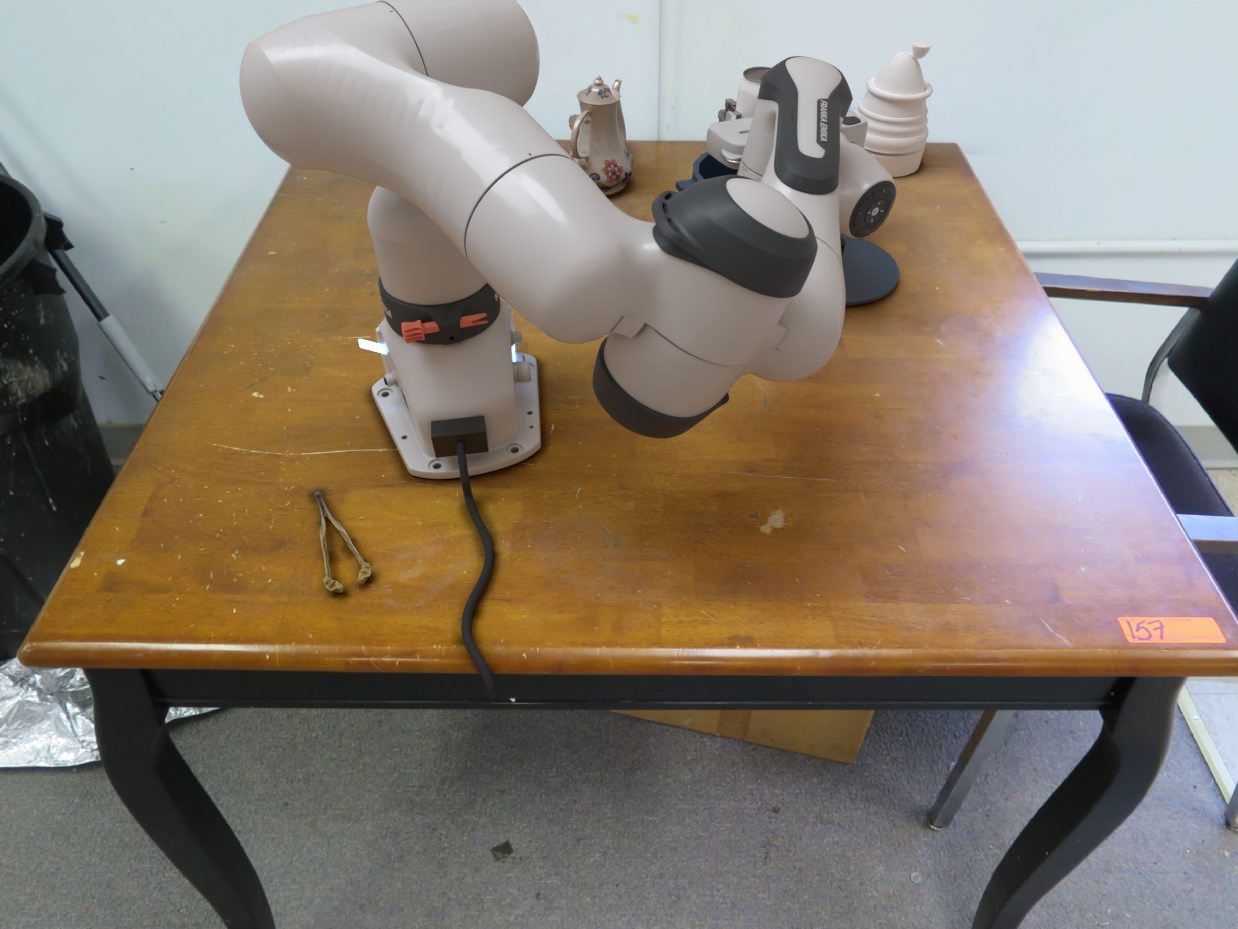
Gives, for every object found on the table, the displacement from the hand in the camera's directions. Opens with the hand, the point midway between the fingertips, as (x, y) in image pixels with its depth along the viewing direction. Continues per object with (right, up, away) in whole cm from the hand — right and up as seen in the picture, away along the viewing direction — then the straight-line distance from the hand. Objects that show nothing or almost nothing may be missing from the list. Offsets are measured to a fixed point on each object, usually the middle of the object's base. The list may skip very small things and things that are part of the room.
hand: (755, 112), depth 109 cm
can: (0, -5, +4) cm, 7 cm away
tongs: (-46, -57, -35) cm, 81 cm away
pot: (0, -10, +10) cm, 14 cm away
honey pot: (+24, +2, +21) cm, 32 cm away
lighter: (-1, 0, +20) cm, 20 cm away
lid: (+10, -22, -3) cm, 24 cm away
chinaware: (-25, -4, +16) cm, 30 cm away
